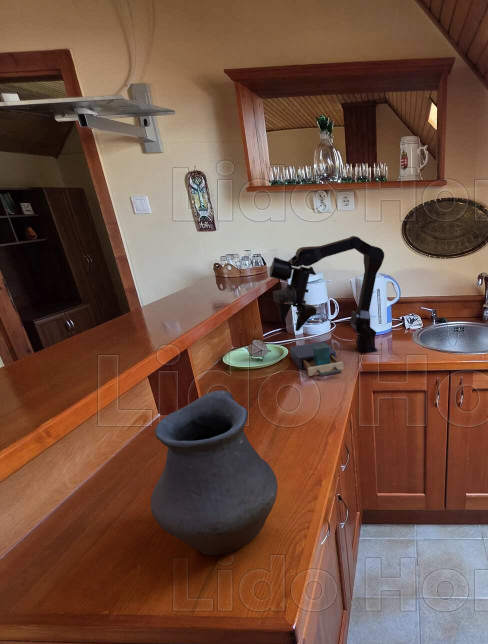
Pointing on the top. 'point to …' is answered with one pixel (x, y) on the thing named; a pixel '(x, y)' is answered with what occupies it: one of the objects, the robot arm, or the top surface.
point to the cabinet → (306, 353)
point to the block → (321, 354)
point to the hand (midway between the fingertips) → (289, 326)
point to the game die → (257, 348)
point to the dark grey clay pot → (212, 477)
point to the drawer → (323, 367)
